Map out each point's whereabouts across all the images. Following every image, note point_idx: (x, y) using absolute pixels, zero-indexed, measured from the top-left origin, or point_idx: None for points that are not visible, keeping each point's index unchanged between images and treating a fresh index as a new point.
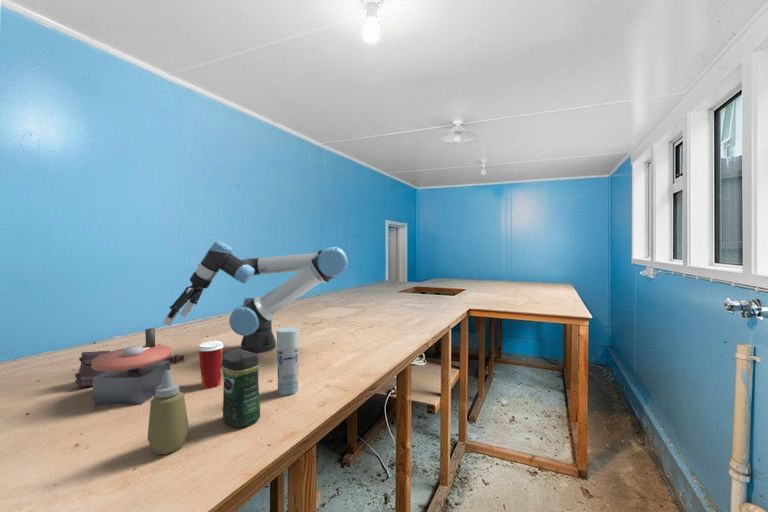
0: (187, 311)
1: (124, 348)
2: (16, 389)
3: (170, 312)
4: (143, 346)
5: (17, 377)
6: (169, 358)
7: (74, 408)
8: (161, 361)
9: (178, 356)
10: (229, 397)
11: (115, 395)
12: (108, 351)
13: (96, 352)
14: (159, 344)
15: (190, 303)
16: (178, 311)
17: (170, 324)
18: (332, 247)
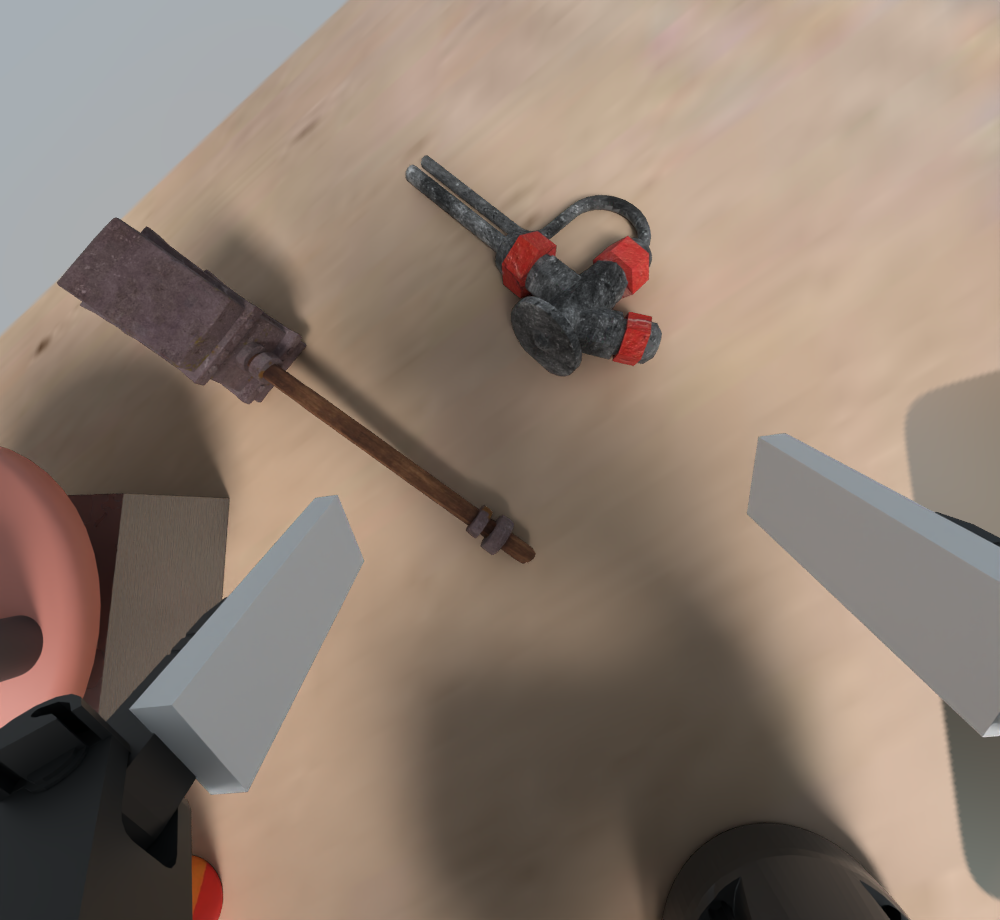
0: (813, 558)
1: (7, 480)
2: (236, 134)
3: (147, 680)
4: (30, 586)
5: (345, 33)
6: (463, 517)
7: (54, 459)
8: (91, 701)
9: (494, 549)
10: None
11: None
12: (204, 306)
13: (142, 279)
14: (648, 334)
15: (996, 675)
16: (234, 787)
17: (355, 572)
18: None
